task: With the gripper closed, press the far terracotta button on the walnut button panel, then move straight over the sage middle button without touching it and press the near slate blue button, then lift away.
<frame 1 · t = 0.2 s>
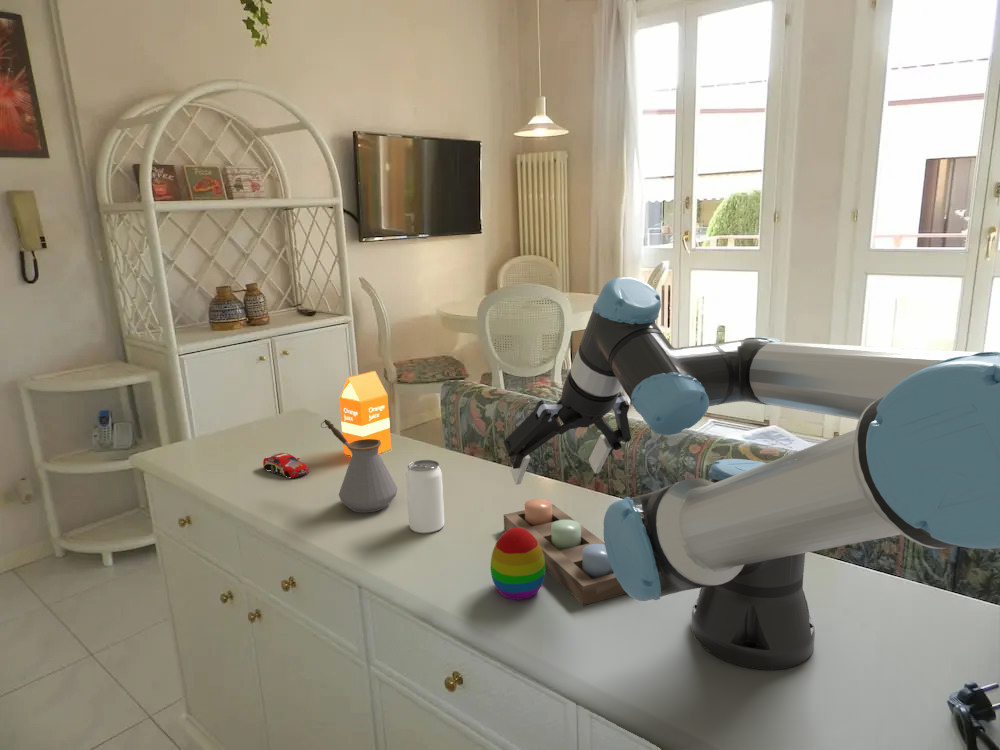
hand: (555, 471, 108), 16 cm above the sideboard, tool tilted 35°, fingers open, 13 cm apart
can: (427, 527, 126), on the sideboard
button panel: (566, 556, 113), on the sideboard
race car: (286, 473, 158), on the sideboard
terracotta button: (538, 514, 121), point 4 cm above the sideboard, slide at 0.0 cm
slate blue button: (598, 562, 103), point 4 cm above the sideboard, slide at 0.0 cm
sage button: (566, 536, 112), point 4 cm above the sideboard, slide at 0.0 cm
decorative egg: (518, 591, 103), on the sideboard
coffee pot: (356, 499, 140), on the sideboard
orange juice: (367, 453, 169), on the sideboard
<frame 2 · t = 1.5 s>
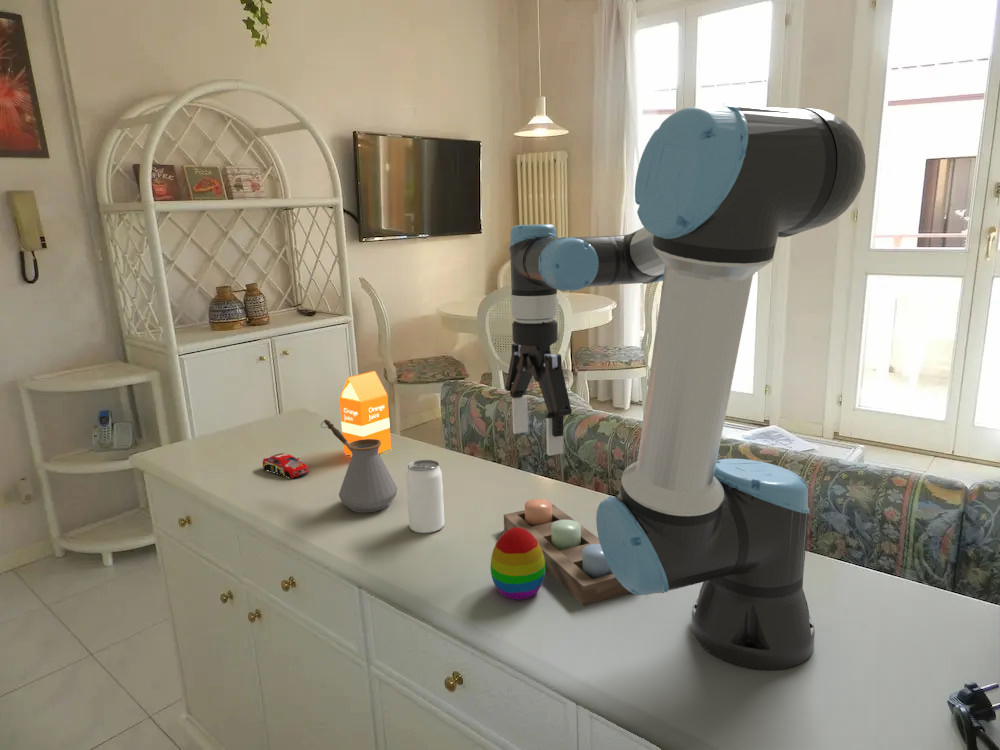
hand: (537, 442, 118), 17 cm above the sideboard, tool pointing down, fingers open, 12 cm apart
nothing on the sideboard moved.
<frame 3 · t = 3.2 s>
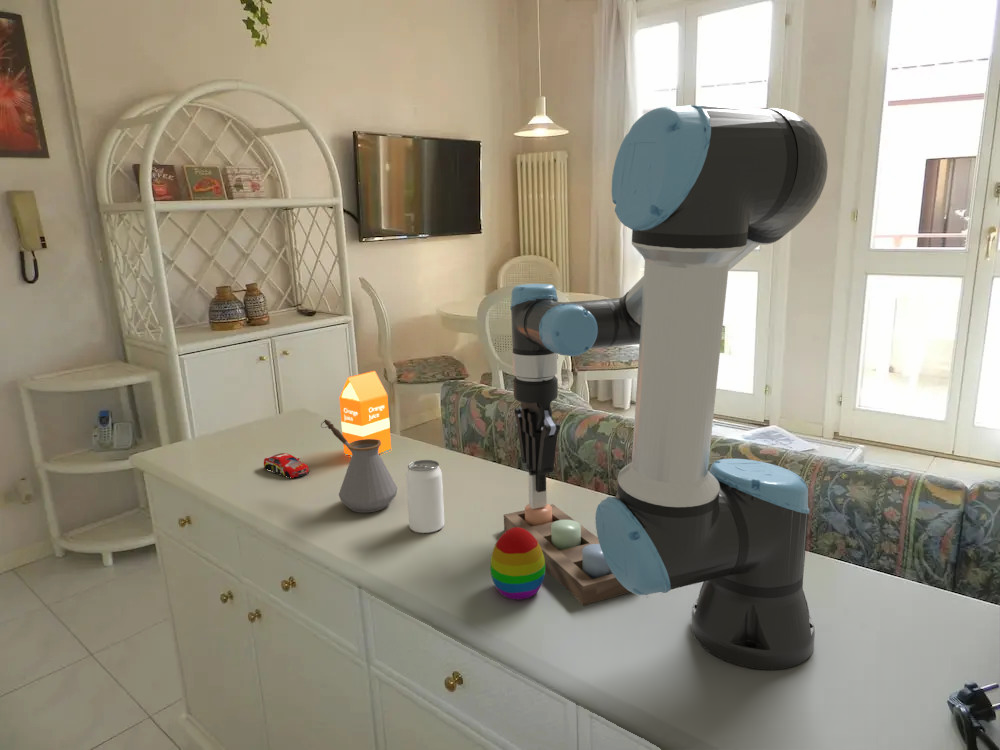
hand: (537, 506, 121), 5 cm above the sideboard, tool pointing down, fingers closed
terracotta button: (538, 517, 121), point 3 cm above the sideboard, slide at 0.7 cm, touching gripper
everything else where it was.
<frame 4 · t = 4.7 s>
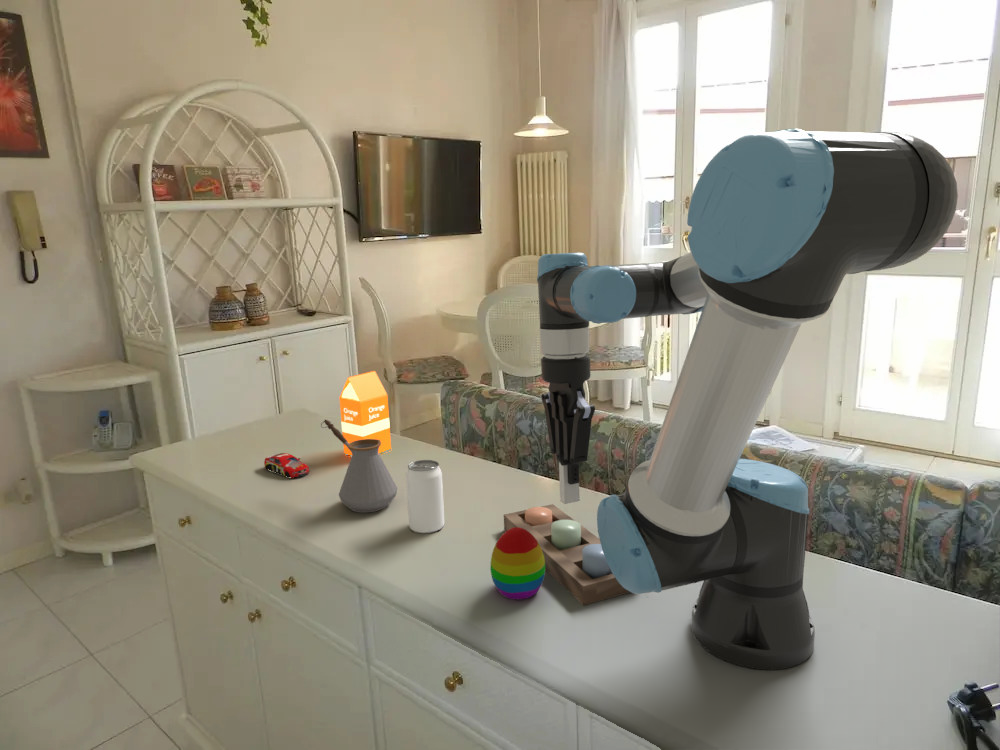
hand: (569, 500, 109), 10 cm above the sideboard, tool pointing down, fingers closed
terracotta button: (538, 522, 121), point 2 cm above the sideboard, slide at 1.5 cm
everything else where it was.
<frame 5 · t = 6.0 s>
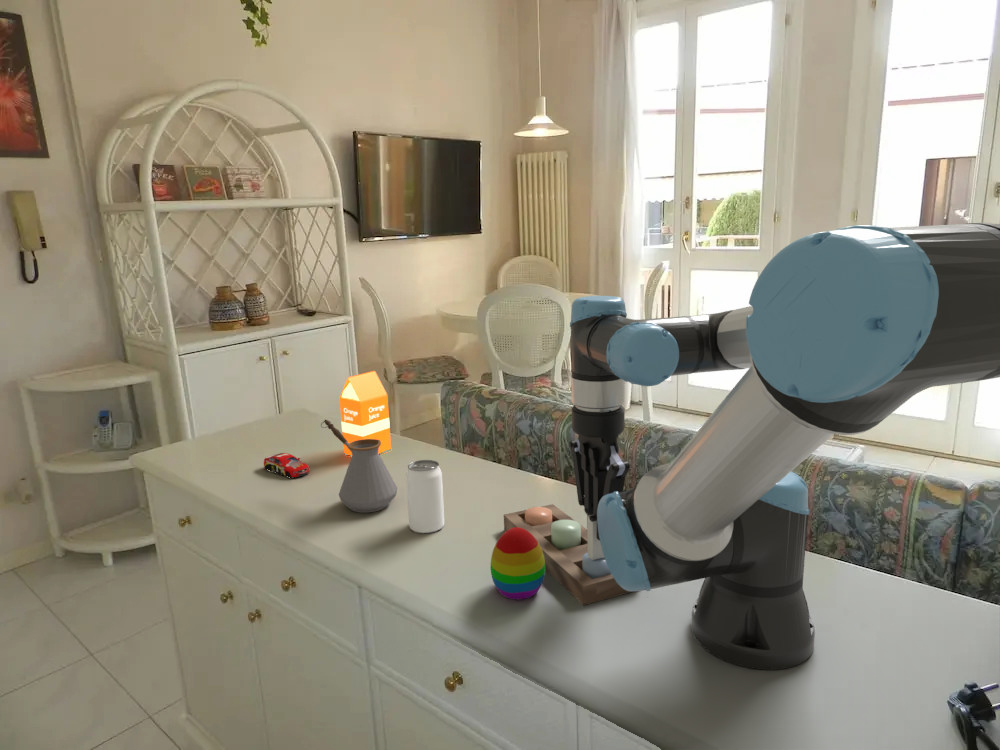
hand: (597, 555, 103), 5 cm above the sideboard, tool pointing down, fingers closed
slate blue button: (598, 569, 103), point 2 cm above the sideboard, slide at 1.2 cm, touching gripper
everything else where it was.
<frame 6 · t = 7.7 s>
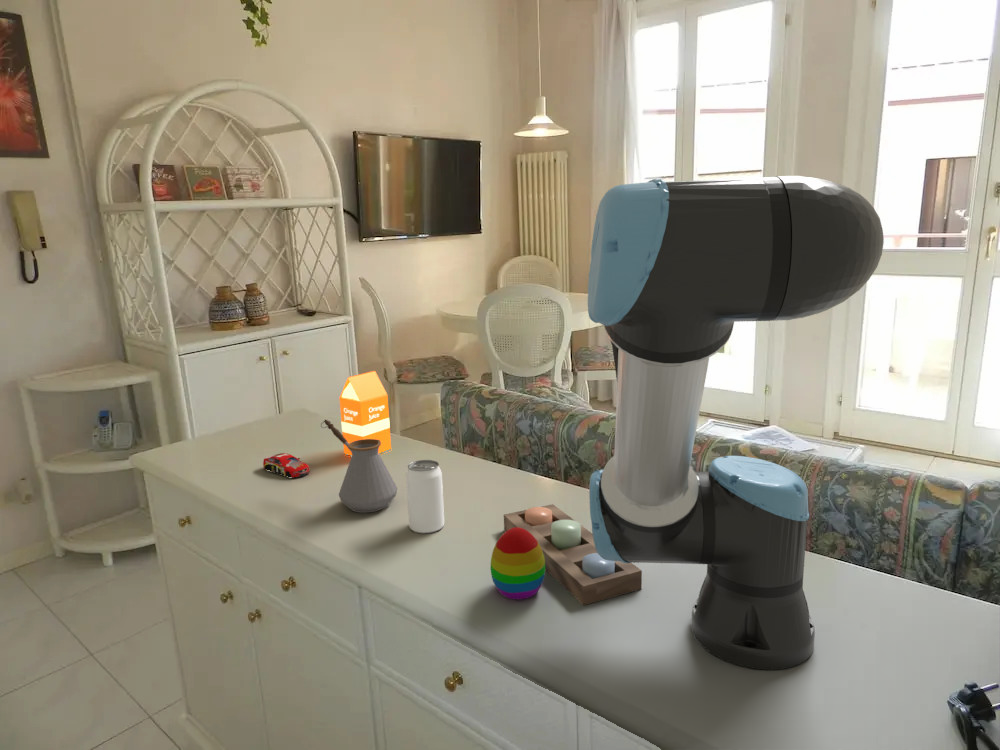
hand: (636, 435, 112), 19 cm above the sideboard, tool pointing down, fingers closed
slate blue button: (598, 571, 103), point 2 cm above the sideboard, slide at 1.5 cm
everything else where it was.
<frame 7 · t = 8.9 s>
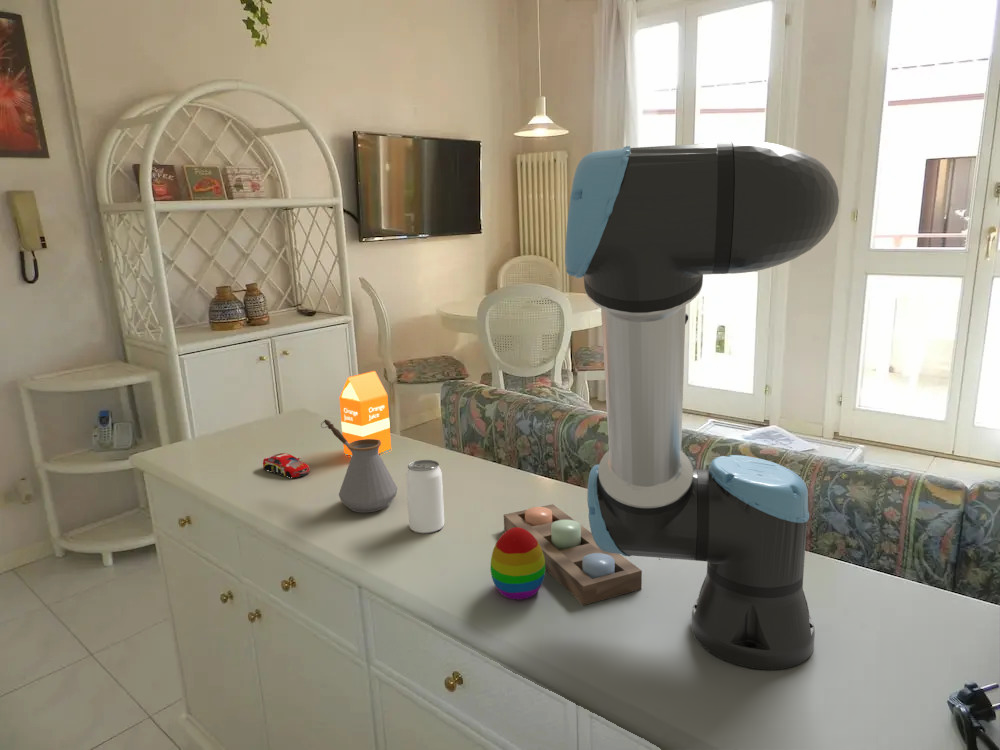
hand: (656, 407, 117), 22 cm above the sideboard, tool pointing down, fingers closed
nothing on the sideboard moved.
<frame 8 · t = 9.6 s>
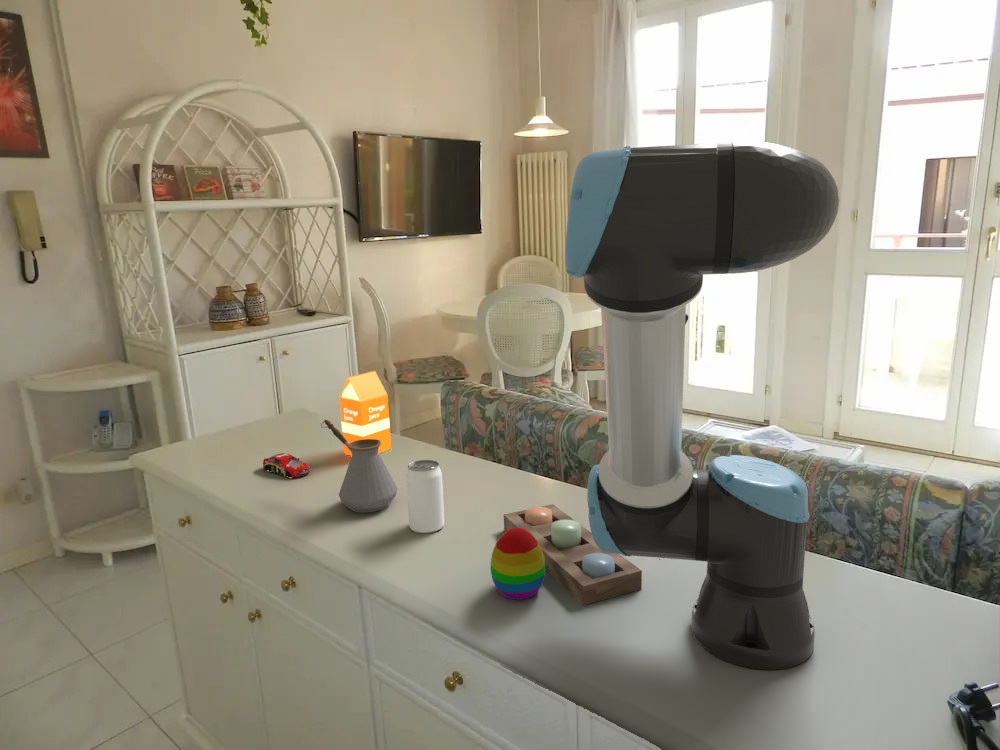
hand: (656, 407, 117), 22 cm above the sideboard, tool pointing down, fingers closed
nothing on the sideboard moved.
at the end: terracotta button slide at 1.5 cm; slate blue button slide at 1.5 cm; sage button slide at 0.0 cm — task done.
